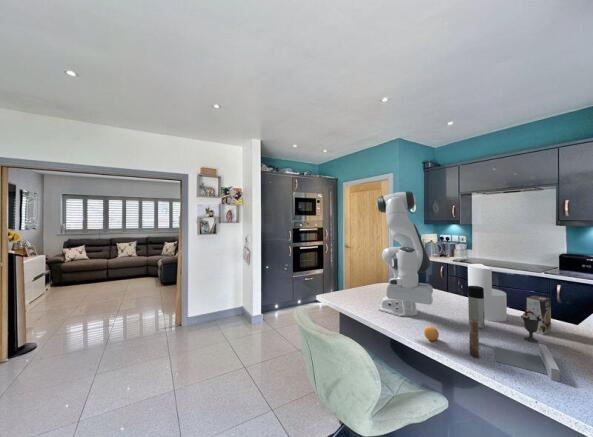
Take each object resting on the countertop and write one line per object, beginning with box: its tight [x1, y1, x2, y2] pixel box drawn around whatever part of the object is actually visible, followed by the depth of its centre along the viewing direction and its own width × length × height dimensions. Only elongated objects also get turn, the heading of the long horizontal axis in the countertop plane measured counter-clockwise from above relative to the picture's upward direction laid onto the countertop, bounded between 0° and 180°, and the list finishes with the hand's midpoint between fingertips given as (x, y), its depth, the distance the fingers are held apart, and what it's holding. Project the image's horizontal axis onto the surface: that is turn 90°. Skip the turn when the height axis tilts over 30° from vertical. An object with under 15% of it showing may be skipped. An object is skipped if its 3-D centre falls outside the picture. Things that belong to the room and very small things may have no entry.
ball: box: [423, 325, 440, 342], centre depth 113 cm, size 6×6×6 cm
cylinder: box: [467, 263, 508, 322], centre depth 141 cm, size 17×17×28 cm
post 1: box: [469, 321, 479, 334], centre depth 111 cm, size 3×3×9 cm
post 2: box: [468, 331, 480, 359], centre depth 100 cm, size 3×3×9 cm
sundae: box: [520, 305, 541, 344], centre depth 112 cm, size 7×7×15 cm
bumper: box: [538, 343, 561, 383], centre depth 92 cm, size 2×20×4 cm, turn 144°
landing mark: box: [493, 345, 548, 375], centre depth 97 cm, size 14×14×1 cm
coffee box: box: [526, 295, 552, 336], centre depth 121 cm, size 9×6×16 cm
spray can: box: [467, 285, 486, 329], centre depth 128 cm, size 7×7×20 cm
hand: (409, 310), depth 118 cm, fingers closed
